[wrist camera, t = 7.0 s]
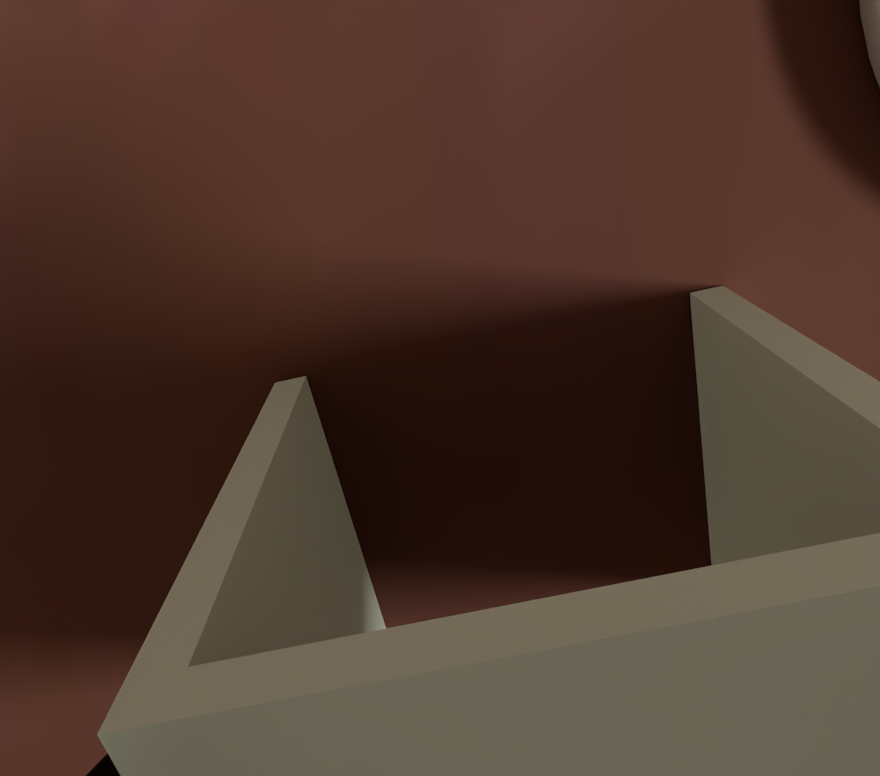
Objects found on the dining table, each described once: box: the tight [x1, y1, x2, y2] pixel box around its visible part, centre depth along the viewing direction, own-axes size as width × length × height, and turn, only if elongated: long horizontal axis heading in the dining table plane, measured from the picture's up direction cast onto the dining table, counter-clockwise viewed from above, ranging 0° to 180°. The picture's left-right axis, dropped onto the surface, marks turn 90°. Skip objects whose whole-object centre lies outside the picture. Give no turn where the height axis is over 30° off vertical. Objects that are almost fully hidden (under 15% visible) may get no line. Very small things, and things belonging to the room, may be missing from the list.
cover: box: [97, 286, 880, 776], centre depth 9 cm, size 6×7×6 cm
